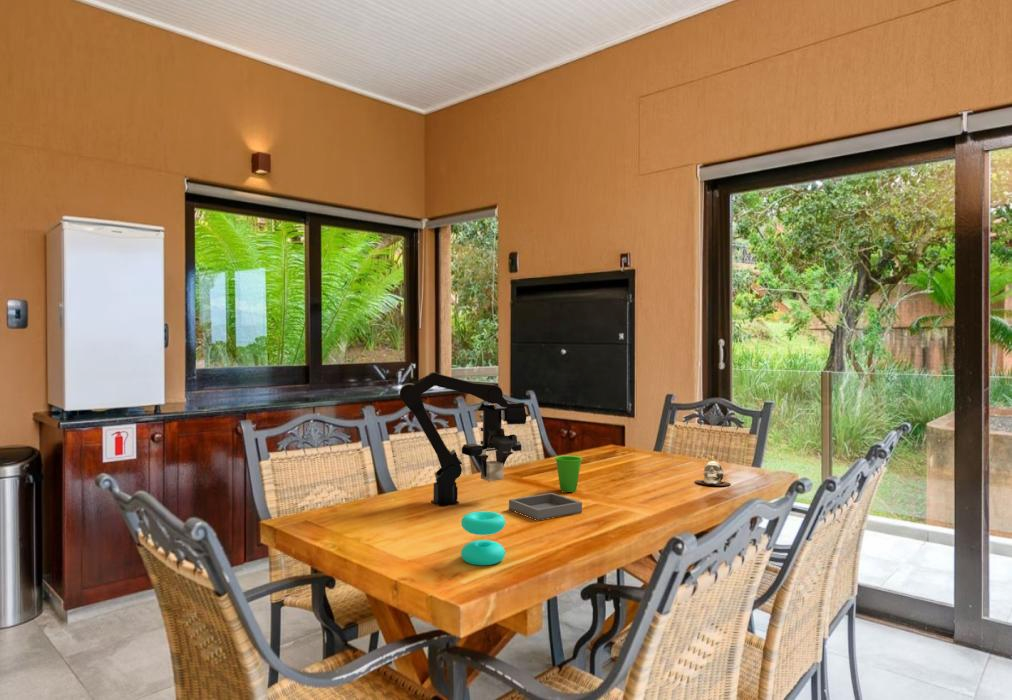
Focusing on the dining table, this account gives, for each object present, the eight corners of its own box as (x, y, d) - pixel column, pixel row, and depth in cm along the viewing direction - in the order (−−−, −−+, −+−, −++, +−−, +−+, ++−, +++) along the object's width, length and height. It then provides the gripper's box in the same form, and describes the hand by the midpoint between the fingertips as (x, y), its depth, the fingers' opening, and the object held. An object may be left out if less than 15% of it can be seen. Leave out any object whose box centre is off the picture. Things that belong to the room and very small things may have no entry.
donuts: (511, 512, 148) (495, 523, 139) (511, 555, 149) (495, 569, 139) (472, 508, 152) (453, 518, 143) (471, 550, 152) (453, 563, 143)
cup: (587, 491, 213) (587, 457, 213) (570, 495, 206) (571, 461, 206) (565, 486, 219) (566, 454, 219) (549, 491, 212) (549, 457, 212)
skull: (730, 486, 217) (709, 462, 220) (707, 503, 221) (687, 479, 224) (736, 478, 227) (716, 455, 230) (714, 495, 231) (695, 472, 234)
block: (489, 481, 195) (489, 465, 194) (480, 478, 199) (480, 462, 199) (503, 479, 197) (503, 463, 197) (494, 476, 201) (494, 460, 201)
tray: (537, 521, 177) (537, 510, 177) (508, 509, 188) (509, 499, 188) (581, 512, 186) (582, 502, 186) (551, 502, 197) (551, 492, 197)
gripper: (480, 430, 186) (480, 484, 186) (532, 425, 196) (531, 476, 197) (460, 426, 195) (460, 477, 195) (511, 421, 206) (511, 470, 206)
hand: (492, 475), depth 198 cm, fingers closed on block, 5 cm apart
